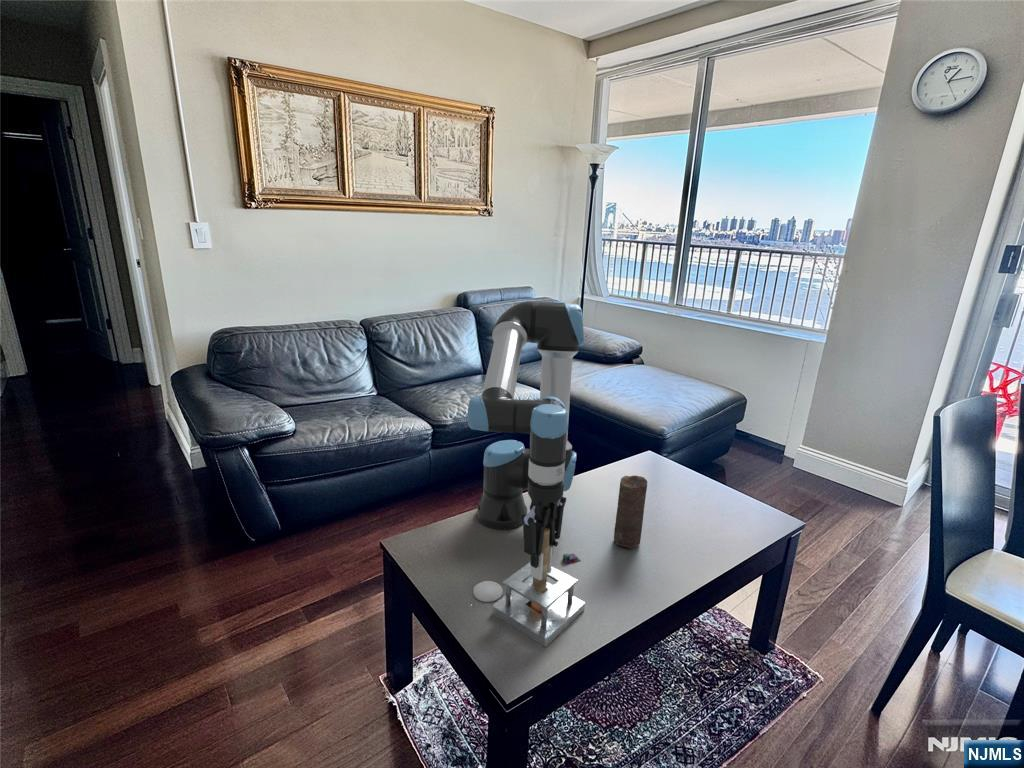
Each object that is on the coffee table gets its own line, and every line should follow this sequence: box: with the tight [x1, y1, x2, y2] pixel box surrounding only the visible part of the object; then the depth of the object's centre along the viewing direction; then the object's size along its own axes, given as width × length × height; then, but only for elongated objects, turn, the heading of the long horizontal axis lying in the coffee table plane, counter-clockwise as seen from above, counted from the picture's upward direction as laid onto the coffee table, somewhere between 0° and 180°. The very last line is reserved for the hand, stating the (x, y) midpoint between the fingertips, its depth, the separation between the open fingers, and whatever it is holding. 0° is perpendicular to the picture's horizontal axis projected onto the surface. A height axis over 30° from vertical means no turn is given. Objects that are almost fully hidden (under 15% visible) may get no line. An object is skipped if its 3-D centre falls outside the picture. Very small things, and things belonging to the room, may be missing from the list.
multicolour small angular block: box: [562, 553, 582, 564], centre depth 137 cm, size 4×3×2 cm, turn 116°
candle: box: [613, 475, 648, 549], centre depth 143 cm, size 8×7×20 cm
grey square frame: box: [491, 561, 586, 648], centre depth 118 cm, size 15×15×8 cm
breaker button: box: [530, 601, 542, 614], centre depth 118 cm, size 4×4×4 cm
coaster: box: [472, 580, 504, 603], centre depth 124 cm, size 7×7×1 cm
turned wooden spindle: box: [532, 527, 550, 593], centre depth 115 cm, size 4×4×17 cm
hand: (540, 573), depth 116 cm, fingers closed on turned wooden spindle, 3 cm apart
